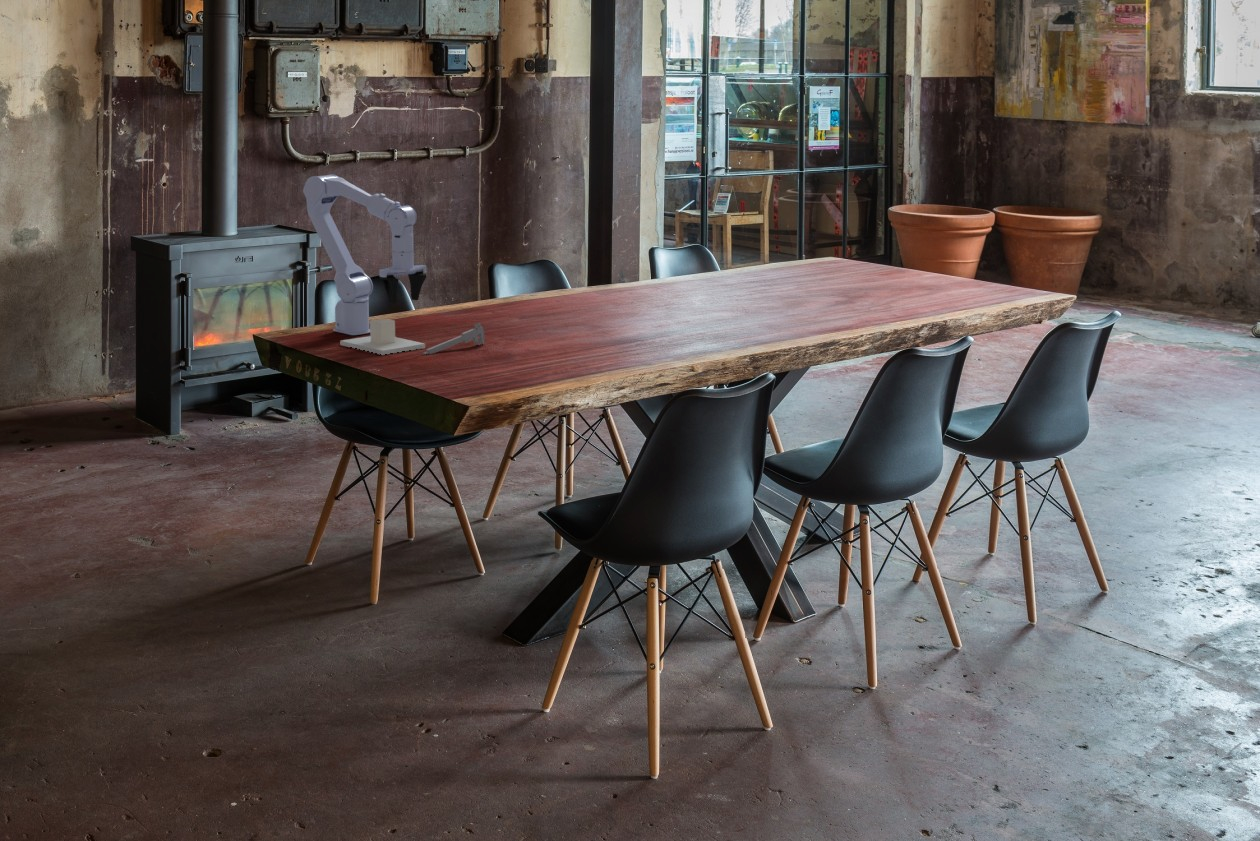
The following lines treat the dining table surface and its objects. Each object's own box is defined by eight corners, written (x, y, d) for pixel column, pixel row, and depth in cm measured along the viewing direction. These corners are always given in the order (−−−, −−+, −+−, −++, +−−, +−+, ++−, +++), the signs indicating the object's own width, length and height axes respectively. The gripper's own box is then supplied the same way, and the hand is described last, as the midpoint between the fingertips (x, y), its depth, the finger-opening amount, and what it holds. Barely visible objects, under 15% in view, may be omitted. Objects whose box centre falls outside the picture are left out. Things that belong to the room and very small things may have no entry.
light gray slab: (340, 345, 370) (339, 324, 369) (382, 338, 380) (382, 318, 379) (382, 355, 359) (381, 334, 357) (425, 348, 369) (424, 327, 367)
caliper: (481, 344, 376) (481, 321, 374) (484, 345, 375) (484, 322, 374) (422, 355, 361) (422, 331, 360) (425, 355, 360) (425, 331, 359)
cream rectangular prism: (370, 342, 369) (369, 320, 368) (384, 339, 372) (384, 318, 371) (381, 344, 366) (380, 322, 365) (395, 342, 369) (394, 320, 368)
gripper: (390, 255, 370) (391, 305, 373) (433, 250, 380) (434, 300, 383) (374, 252, 374) (375, 302, 378) (417, 248, 385) (417, 297, 388)
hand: (403, 301), depth 381 cm, fingers open, 7 cm apart
